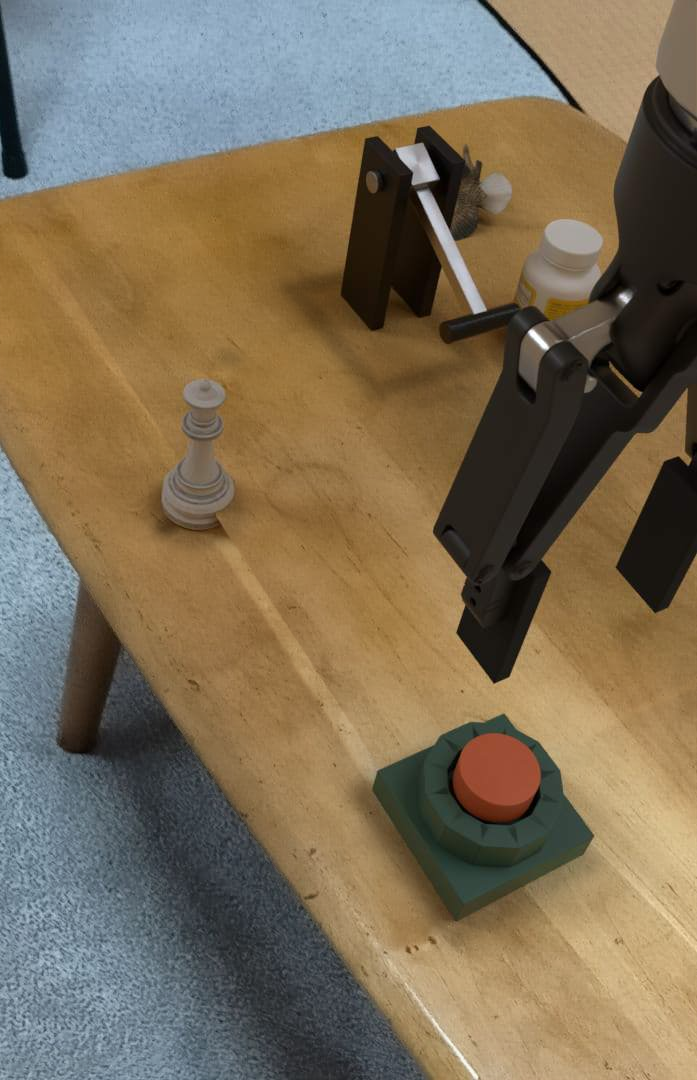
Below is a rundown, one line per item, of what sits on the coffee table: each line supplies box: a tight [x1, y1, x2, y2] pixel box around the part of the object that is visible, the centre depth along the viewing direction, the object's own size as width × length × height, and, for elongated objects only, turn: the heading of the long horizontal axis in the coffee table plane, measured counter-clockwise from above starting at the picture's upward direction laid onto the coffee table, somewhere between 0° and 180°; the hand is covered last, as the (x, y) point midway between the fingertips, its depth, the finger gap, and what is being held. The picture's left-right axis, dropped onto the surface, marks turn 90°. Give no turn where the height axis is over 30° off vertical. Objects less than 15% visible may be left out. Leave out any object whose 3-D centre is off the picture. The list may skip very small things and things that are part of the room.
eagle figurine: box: [450, 144, 514, 242], centre depth 95 cm, size 8×7×9 cm
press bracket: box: [340, 125, 466, 332], centre depth 84 cm, size 12×8×14 cm, turn 30°
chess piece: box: [161, 378, 235, 531], centre depth 71 cm, size 4×4×10 cm
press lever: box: [392, 143, 521, 345], centre depth 80 cm, size 13×6×2 cm, turn 30°
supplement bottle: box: [505, 218, 604, 330], centre depth 86 cm, size 5×5×10 cm
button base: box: [371, 713, 595, 922], centre depth 62 cm, size 8×8×4 cm
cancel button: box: [453, 733, 541, 823], centre depth 60 cm, size 4×4×2 cm
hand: (564, 619), depth 51 cm, fingers open, 8 cm apart
